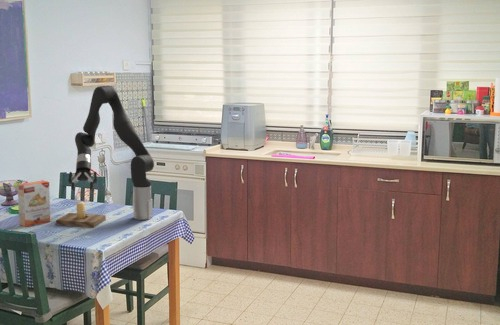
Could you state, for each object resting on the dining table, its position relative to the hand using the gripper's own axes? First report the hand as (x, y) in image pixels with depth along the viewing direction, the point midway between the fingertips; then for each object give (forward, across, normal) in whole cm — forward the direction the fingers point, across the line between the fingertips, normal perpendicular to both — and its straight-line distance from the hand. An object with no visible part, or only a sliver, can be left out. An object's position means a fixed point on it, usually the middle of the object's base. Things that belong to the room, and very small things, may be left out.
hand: (82, 189), depth 287 cm
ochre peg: (+18, 0, +3) cm, 18 cm away
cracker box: (+17, -22, +4) cm, 28 cm away
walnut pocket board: (+18, 0, +3) cm, 18 cm away
